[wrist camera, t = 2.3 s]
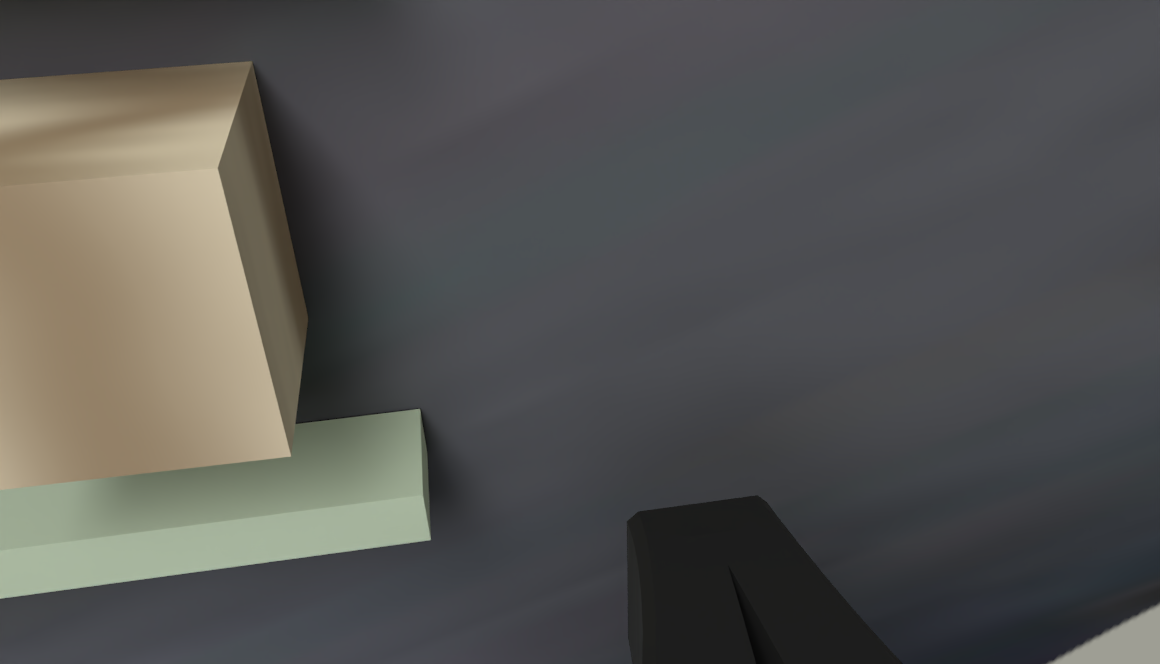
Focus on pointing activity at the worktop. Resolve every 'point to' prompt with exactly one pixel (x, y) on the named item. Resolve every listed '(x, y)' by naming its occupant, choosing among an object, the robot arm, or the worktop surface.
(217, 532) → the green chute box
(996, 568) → the worktop surface
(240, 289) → the maple block
